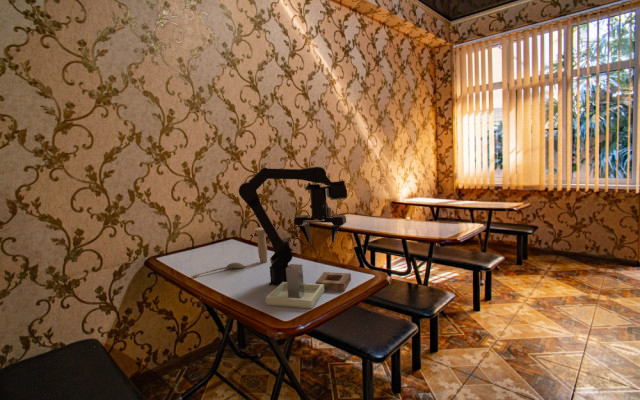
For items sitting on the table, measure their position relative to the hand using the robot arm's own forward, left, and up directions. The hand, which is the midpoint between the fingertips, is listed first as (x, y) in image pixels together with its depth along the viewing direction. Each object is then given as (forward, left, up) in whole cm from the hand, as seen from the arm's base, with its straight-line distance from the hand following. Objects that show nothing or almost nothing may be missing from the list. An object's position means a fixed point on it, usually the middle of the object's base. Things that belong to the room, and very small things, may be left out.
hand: (321, 242), depth 126 cm
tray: (-3, -20, -13) cm, 24 cm away
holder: (+6, -7, -13) cm, 16 cm away
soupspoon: (-45, 0, -14) cm, 47 cm away
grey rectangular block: (-3, -20, -12) cm, 24 cm away
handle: (-32, +14, -13) cm, 37 cm away
